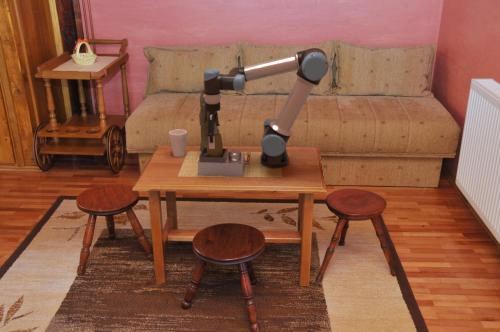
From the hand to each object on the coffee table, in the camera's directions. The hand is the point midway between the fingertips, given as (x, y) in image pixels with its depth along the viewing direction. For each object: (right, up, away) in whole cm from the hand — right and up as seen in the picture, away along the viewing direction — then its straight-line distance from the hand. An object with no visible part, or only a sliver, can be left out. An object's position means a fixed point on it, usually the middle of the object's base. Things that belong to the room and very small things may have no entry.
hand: (213, 143), depth 258 cm
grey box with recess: (+4, -13, +7) cm, 15 cm away
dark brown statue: (-5, -5, +25) cm, 26 cm away
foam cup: (-21, -5, +25) cm, 33 cm away
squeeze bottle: (0, -7, +3) cm, 7 cm away
